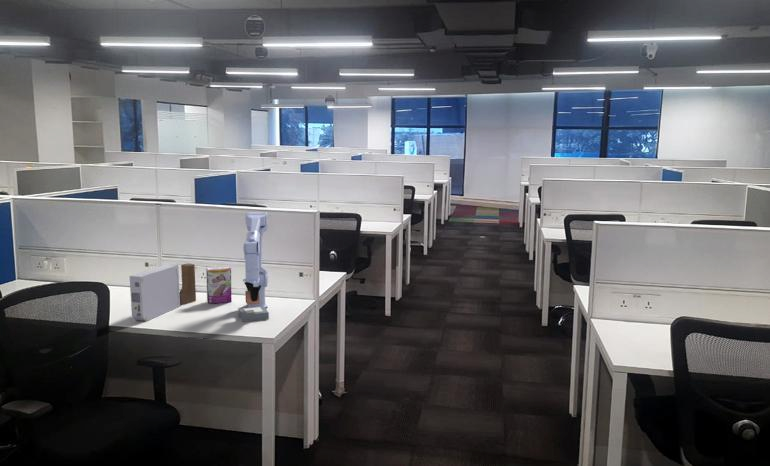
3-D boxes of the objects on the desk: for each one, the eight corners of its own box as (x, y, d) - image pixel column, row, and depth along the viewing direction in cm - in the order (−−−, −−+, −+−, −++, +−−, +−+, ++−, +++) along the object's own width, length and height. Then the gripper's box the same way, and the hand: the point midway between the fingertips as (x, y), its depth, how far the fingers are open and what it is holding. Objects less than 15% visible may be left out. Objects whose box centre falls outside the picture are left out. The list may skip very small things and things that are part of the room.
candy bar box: (207, 304, 284) (206, 270, 282) (206, 301, 289) (205, 268, 287) (232, 302, 288) (231, 268, 286) (230, 299, 293) (229, 266, 291)
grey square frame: (238, 315, 267) (238, 308, 267) (263, 312, 272) (263, 305, 271) (243, 321, 257) (242, 314, 257) (268, 319, 262) (268, 311, 261)
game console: (182, 306, 281) (180, 264, 278) (143, 323, 255) (141, 276, 252) (171, 305, 282) (169, 263, 279) (132, 321, 257) (129, 275, 254)
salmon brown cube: (245, 302, 265) (245, 291, 264) (257, 301, 267) (256, 289, 266) (247, 305, 260) (247, 293, 259) (259, 303, 262) (259, 292, 261)
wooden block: (181, 305, 282) (179, 267, 280) (174, 303, 285) (172, 266, 282) (196, 301, 290) (194, 264, 287) (190, 299, 292) (188, 263, 290)
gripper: (239, 266, 266) (240, 296, 268) (246, 272, 253) (246, 304, 255) (255, 265, 269) (256, 294, 271) (262, 271, 256) (263, 302, 258)
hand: (253, 299), depth 263 cm, fingers closed on salmon brown cube, 5 cm apart
